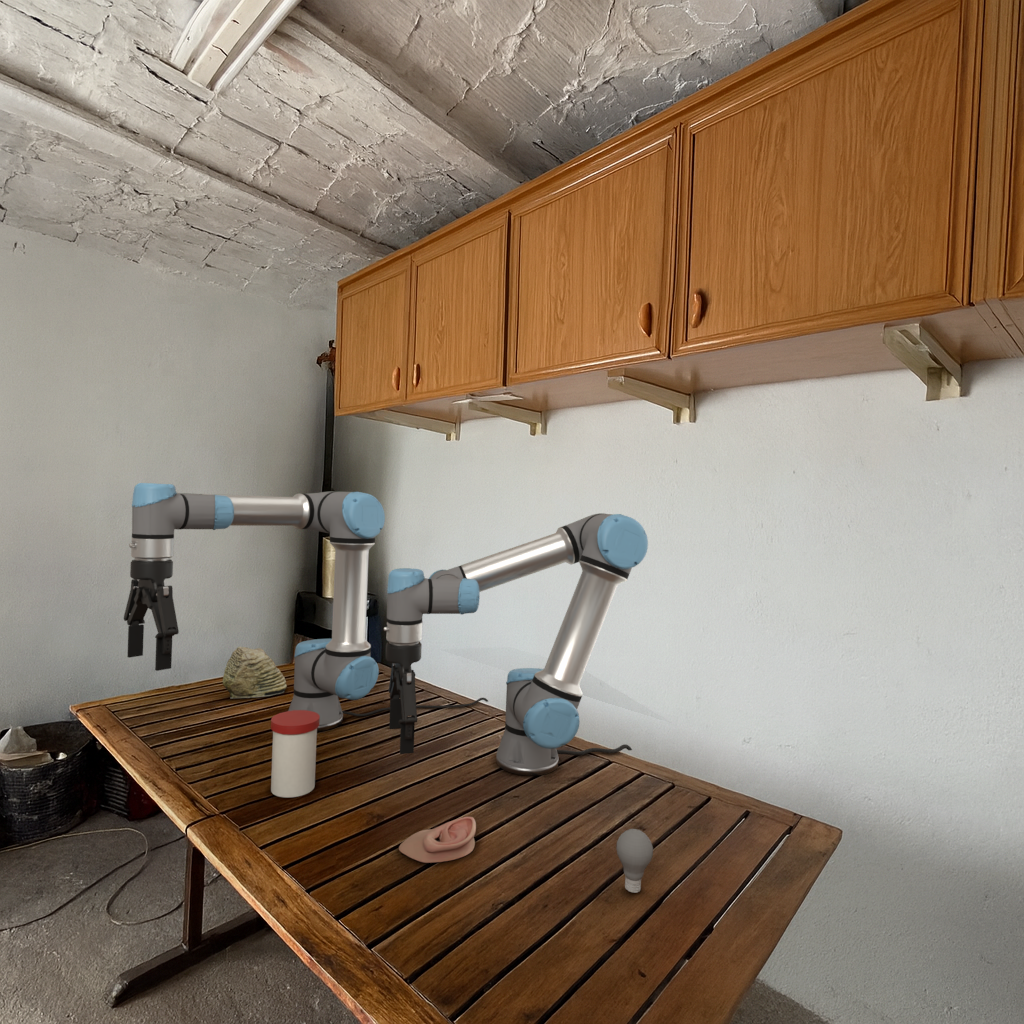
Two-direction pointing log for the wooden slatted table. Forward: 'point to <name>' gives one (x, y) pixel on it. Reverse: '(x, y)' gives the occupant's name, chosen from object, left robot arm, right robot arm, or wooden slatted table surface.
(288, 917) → the wooden slatted table surface
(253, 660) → the fossil
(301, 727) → the lid
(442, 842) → the anatomical model
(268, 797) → the wooden slatted table surface
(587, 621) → the right robot arm
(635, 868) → the light bulb
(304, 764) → the jar
